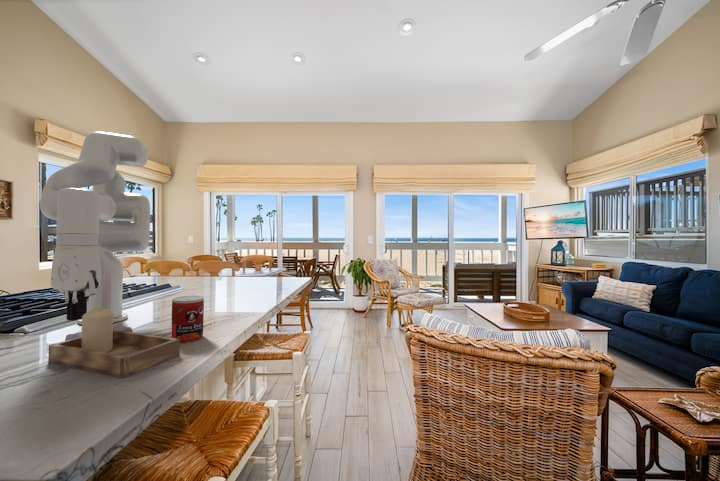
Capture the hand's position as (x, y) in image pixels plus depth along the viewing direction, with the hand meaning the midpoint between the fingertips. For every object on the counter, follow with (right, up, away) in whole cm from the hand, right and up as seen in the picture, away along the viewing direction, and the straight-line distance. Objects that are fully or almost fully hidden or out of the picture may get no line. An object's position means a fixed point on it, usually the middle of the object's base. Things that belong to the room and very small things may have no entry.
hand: (76, 319), depth 75 cm
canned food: (+20, -8, +12) cm, 24 cm away
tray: (+12, -8, -4) cm, 15 cm away
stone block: (-1, -8, +7) cm, 11 cm away
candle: (+6, -7, -2) cm, 10 cm away
